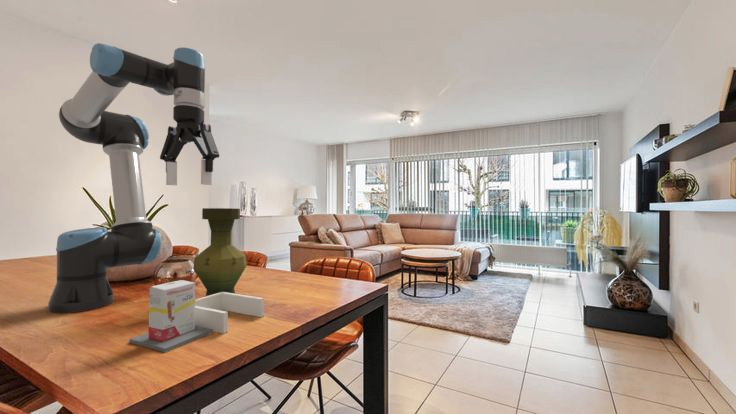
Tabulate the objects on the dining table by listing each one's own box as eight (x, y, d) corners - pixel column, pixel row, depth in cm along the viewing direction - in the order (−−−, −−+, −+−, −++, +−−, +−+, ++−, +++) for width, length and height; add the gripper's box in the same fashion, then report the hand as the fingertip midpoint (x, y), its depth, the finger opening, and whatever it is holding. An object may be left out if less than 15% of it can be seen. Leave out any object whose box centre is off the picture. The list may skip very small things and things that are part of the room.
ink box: (162, 342, 74) (162, 289, 74) (147, 339, 76) (148, 287, 75) (196, 329, 82) (196, 281, 81) (181, 326, 83) (182, 279, 83)
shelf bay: (178, 323, 88) (178, 304, 88) (222, 308, 101) (222, 291, 101) (223, 333, 81) (223, 313, 81) (264, 315, 94) (264, 298, 94)
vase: (229, 290, 122) (230, 208, 121) (256, 297, 112) (257, 208, 112) (183, 300, 108) (184, 208, 108) (209, 310, 99) (210, 209, 99)
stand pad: (129, 342, 75) (129, 338, 75) (178, 325, 86) (178, 322, 86) (165, 352, 71) (165, 348, 71) (212, 332, 82) (212, 329, 82)
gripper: (145, 108, 93) (145, 184, 93) (210, 98, 83) (210, 183, 84) (171, 115, 100) (170, 186, 100) (233, 106, 90) (233, 185, 90)
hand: (188, 185), depth 92 cm, fingers open, 13 cm apart
